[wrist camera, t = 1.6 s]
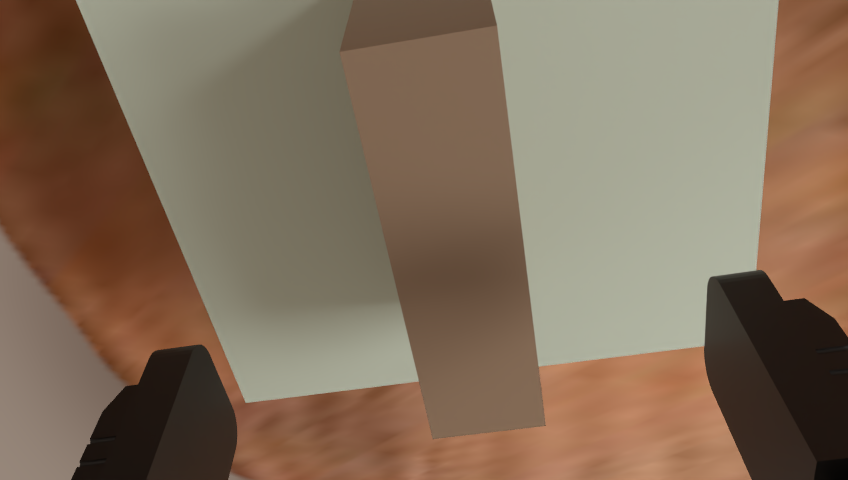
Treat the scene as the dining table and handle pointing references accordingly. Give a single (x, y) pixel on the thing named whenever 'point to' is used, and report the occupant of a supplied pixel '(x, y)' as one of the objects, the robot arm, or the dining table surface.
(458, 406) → the lid
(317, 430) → the dining table surface
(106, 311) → the dining table surface
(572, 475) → the dining table surface
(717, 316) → the robot arm
